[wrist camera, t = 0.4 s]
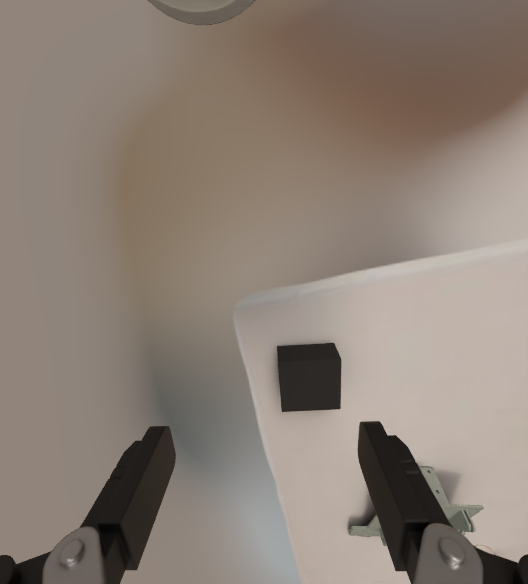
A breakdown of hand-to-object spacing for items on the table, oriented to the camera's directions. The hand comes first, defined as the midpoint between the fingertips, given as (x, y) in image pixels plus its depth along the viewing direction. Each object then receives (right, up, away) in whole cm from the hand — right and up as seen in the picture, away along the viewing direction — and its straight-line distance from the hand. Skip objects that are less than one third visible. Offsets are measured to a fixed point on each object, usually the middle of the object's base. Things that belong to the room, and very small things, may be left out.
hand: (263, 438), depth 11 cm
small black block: (+5, -2, +18) cm, 19 cm away
